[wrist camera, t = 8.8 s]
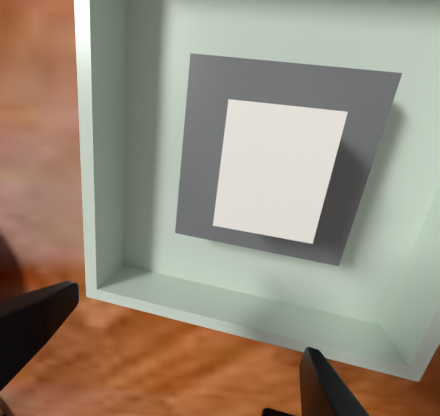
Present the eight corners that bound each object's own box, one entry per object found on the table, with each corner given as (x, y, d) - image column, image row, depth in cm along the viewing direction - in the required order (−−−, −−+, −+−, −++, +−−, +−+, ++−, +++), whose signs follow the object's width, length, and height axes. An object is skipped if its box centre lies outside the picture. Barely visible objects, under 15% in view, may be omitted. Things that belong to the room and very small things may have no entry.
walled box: (535, -29, 13) (691, -128, 8) (382, 327, 21) (418, 382, 16) (124, -44, 16) (69, -121, 12) (121, 266, 24) (86, 296, 19)
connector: (310, 126, 16) (347, 111, 9) (292, 205, 18) (312, 243, 11) (242, 118, 17) (228, 99, 10) (231, 195, 19) (212, 225, 12)
